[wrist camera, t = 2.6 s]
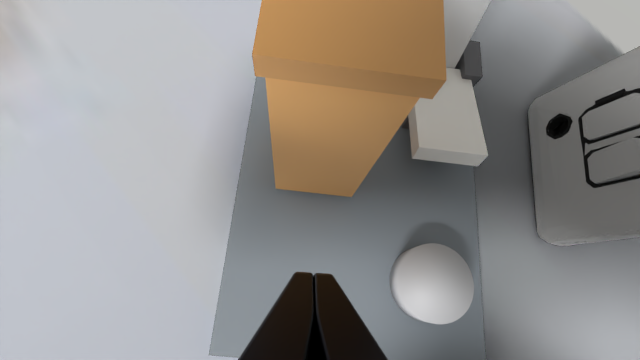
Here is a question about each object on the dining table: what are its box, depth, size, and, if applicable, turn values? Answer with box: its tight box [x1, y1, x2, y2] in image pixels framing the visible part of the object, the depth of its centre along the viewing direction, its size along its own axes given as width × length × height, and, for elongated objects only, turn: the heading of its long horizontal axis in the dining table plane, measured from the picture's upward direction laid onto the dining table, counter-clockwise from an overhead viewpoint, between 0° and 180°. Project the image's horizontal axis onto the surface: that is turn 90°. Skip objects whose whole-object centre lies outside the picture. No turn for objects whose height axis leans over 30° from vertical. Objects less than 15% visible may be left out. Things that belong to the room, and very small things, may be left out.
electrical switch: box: [528, 46, 640, 246], centre depth 17 cm, size 9×5×9 cm, turn 173°
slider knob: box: [252, 0, 446, 197], centre depth 13 cm, size 4×4×11 cm
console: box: [209, 41, 486, 360], centre depth 18 cm, size 18×13×3 cm
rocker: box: [408, 68, 488, 166], centre depth 19 cm, size 6×4×1 cm, turn 175°
